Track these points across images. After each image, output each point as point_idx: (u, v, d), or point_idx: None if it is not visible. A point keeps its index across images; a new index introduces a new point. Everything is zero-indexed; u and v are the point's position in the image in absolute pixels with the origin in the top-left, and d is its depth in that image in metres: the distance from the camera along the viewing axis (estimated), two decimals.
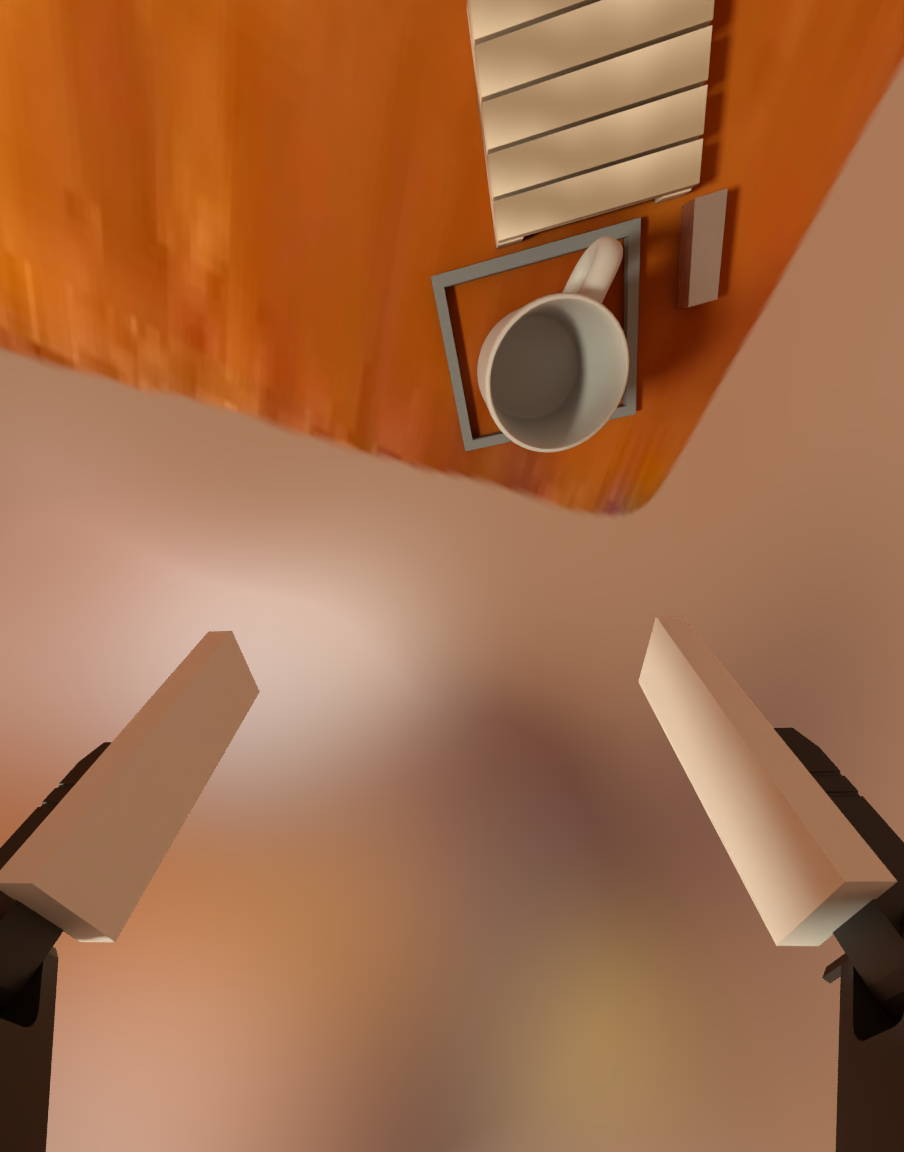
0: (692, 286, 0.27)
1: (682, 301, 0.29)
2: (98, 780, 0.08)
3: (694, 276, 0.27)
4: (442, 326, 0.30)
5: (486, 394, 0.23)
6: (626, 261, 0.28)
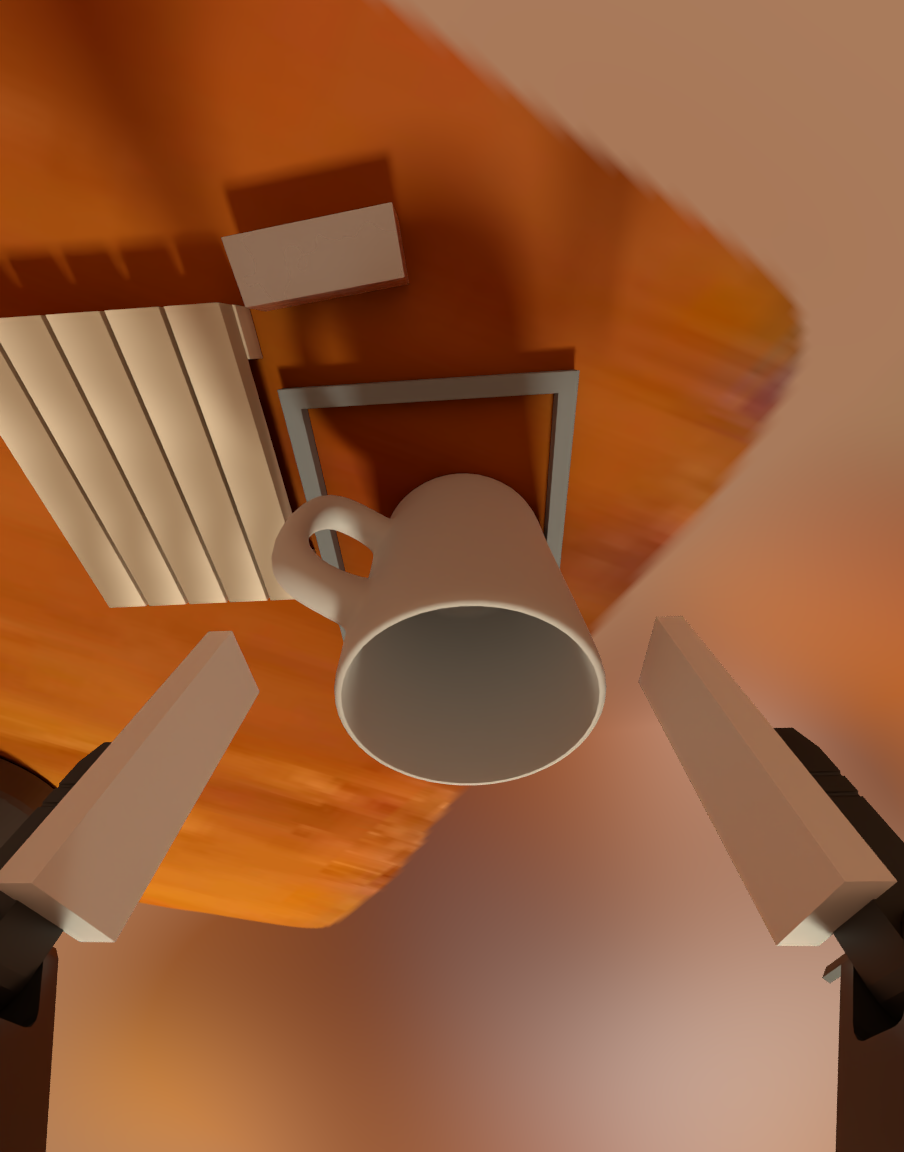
0: (370, 277, 0.14)
1: (396, 283, 0.15)
2: (98, 780, 0.08)
3: (354, 275, 0.14)
4: None
5: None
6: None
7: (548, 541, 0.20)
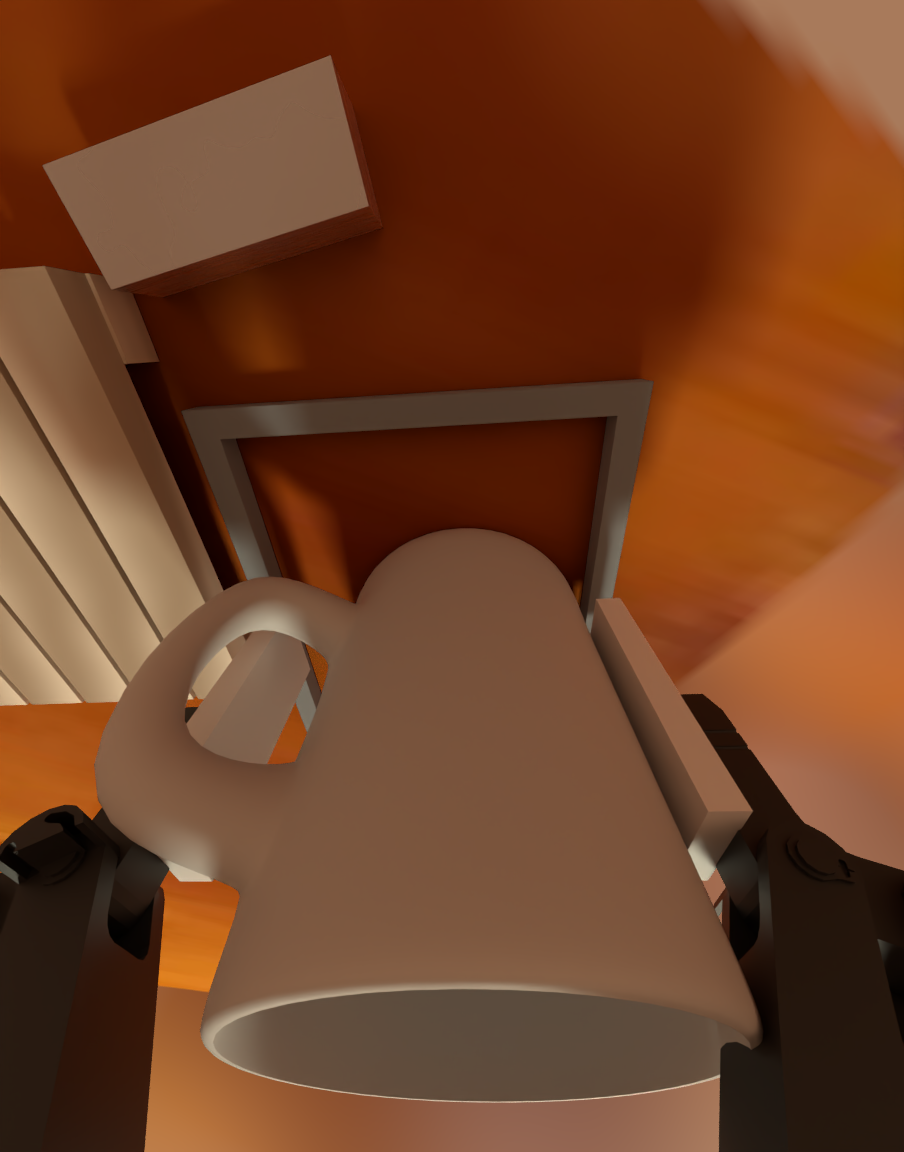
0: (308, 211, 0.08)
1: (358, 224, 0.09)
2: (196, 735, 0.09)
3: (281, 212, 0.08)
4: None
5: None
6: None
7: (588, 619, 0.14)
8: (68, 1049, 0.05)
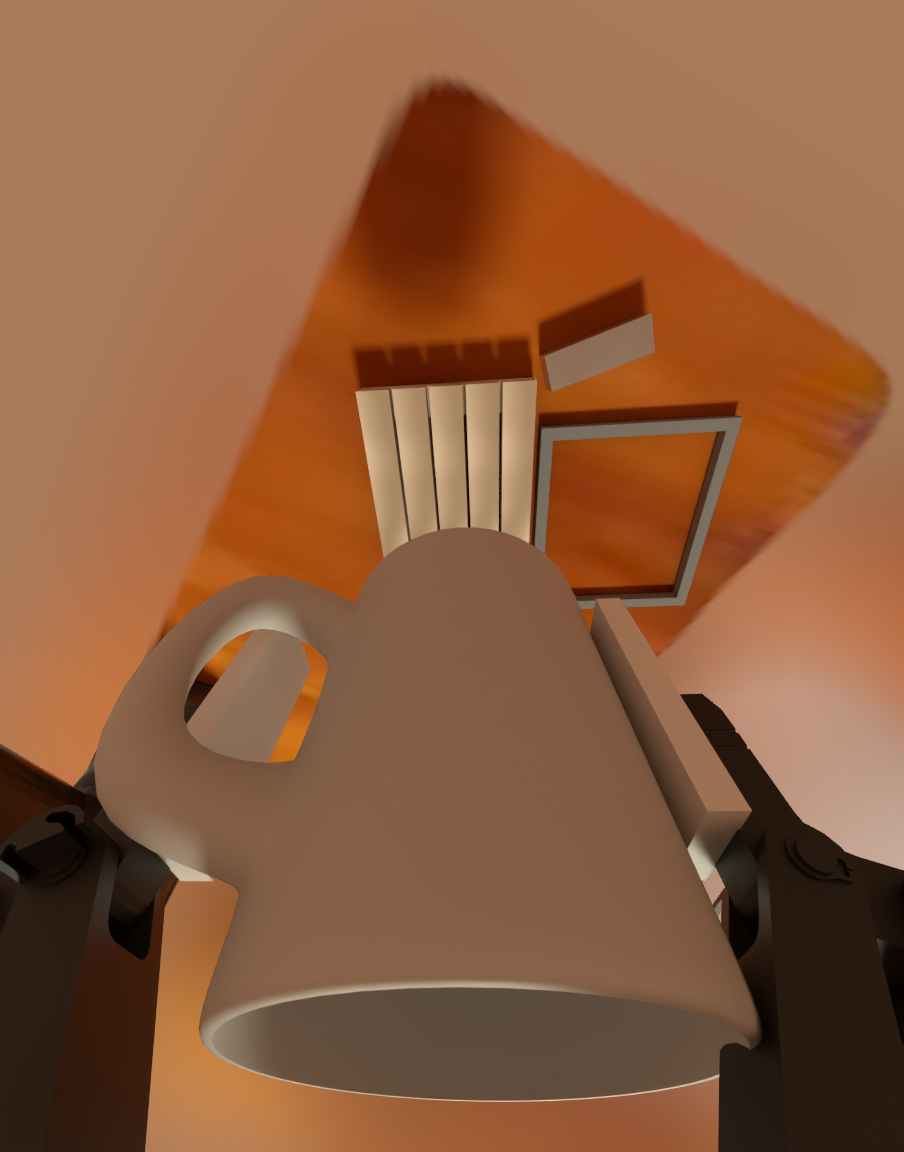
0: (633, 357, 0.22)
1: None
2: (196, 735, 0.09)
3: (622, 358, 0.22)
4: None
5: None
6: None
7: (698, 529, 0.29)
8: (69, 1049, 0.05)
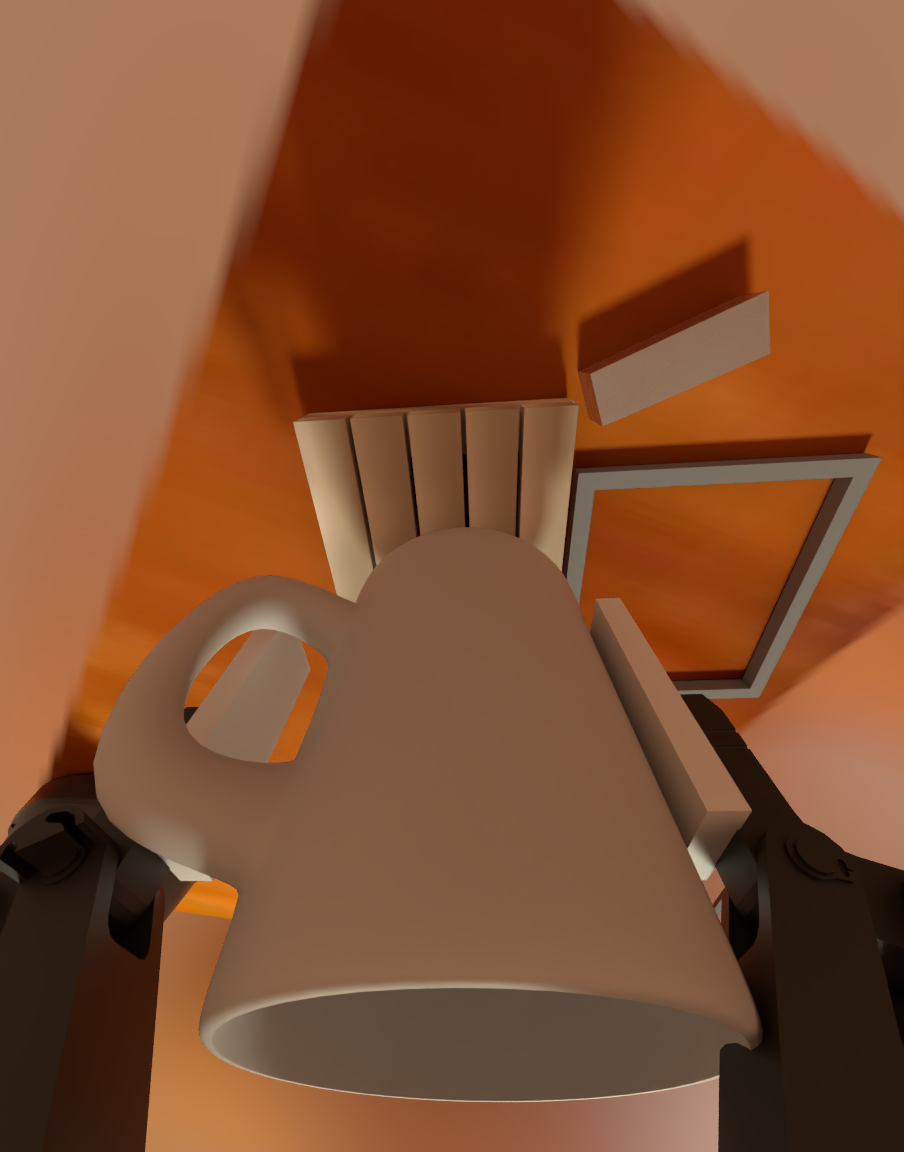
0: (734, 364, 0.14)
1: None
2: (196, 735, 0.09)
3: (716, 367, 0.14)
4: None
5: None
6: None
7: (791, 607, 0.20)
8: (68, 1049, 0.05)
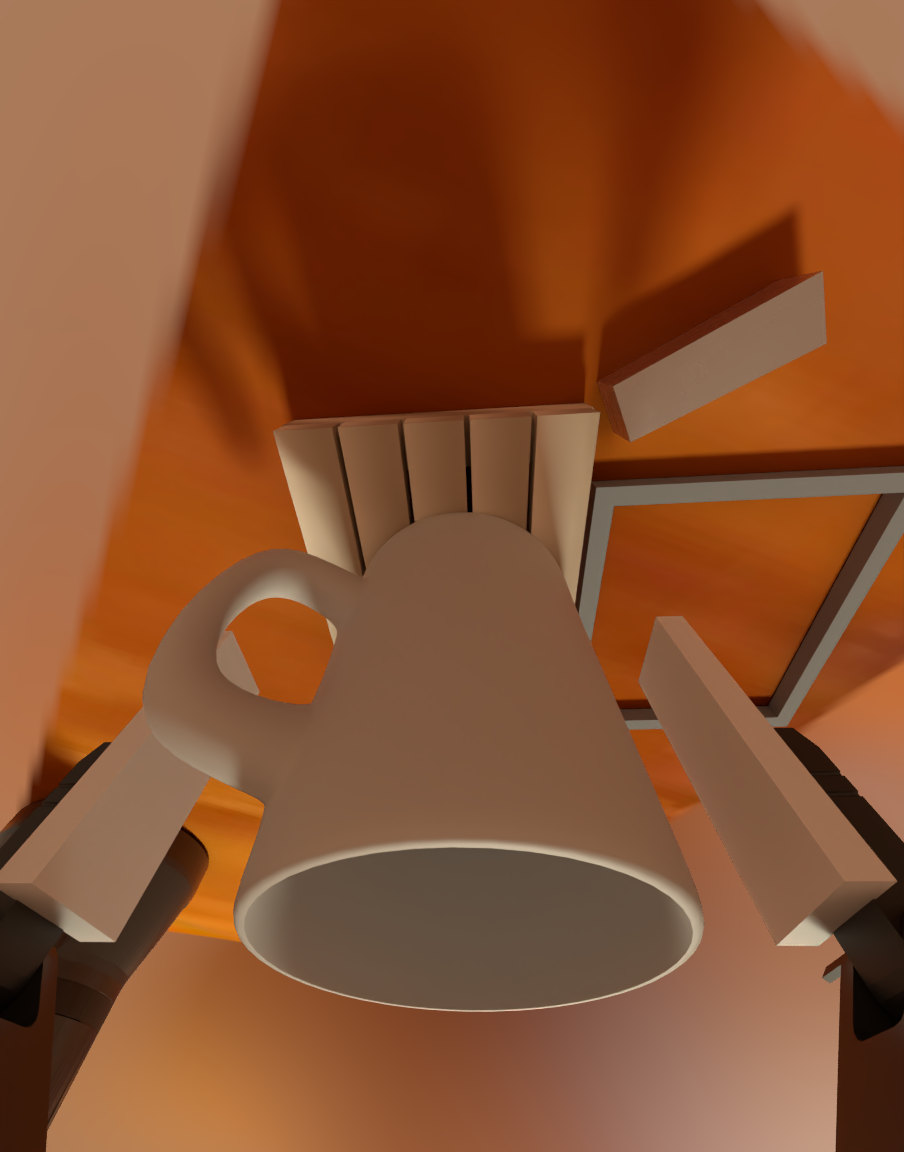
0: (783, 359, 0.12)
1: None
2: (98, 780, 0.08)
3: (761, 365, 0.12)
4: None
5: None
6: None
7: (827, 633, 0.19)
8: None
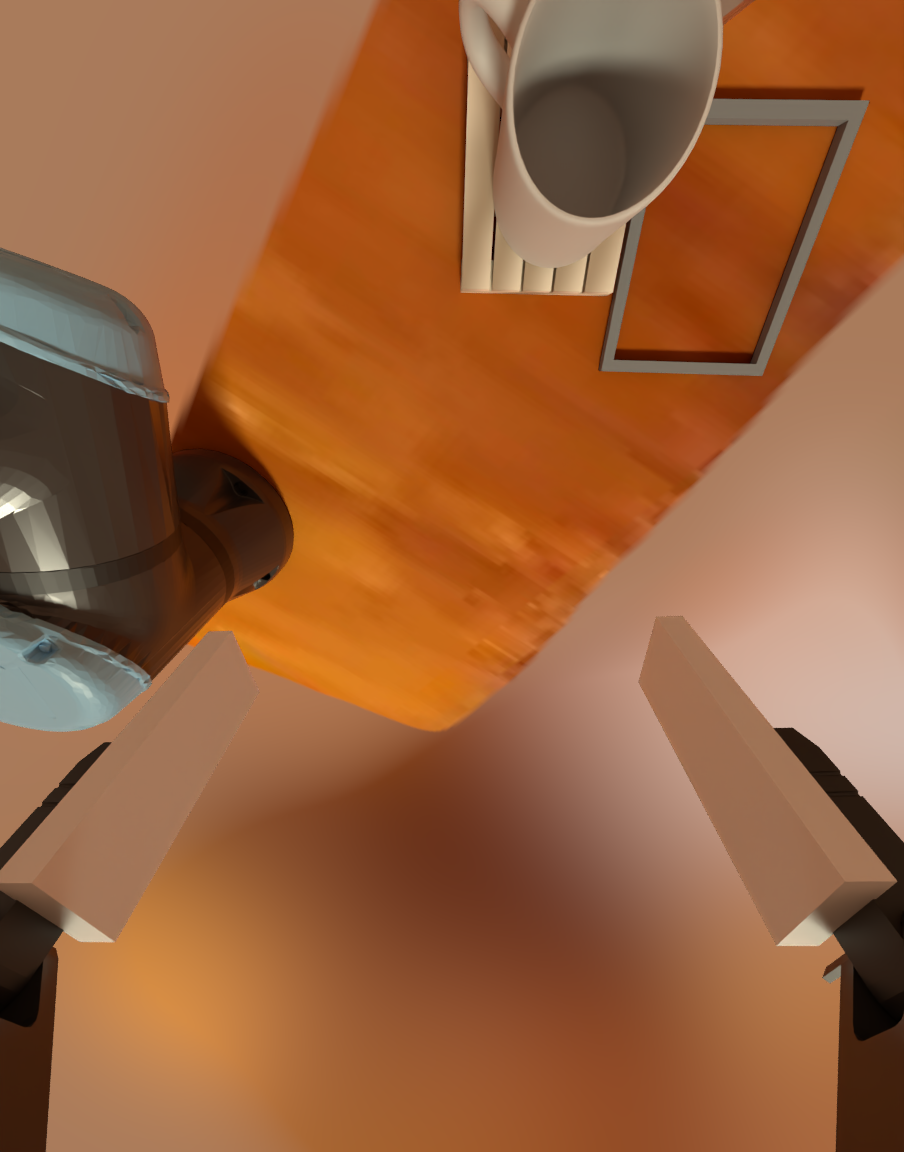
0: None
1: None
2: (98, 780, 0.08)
3: None
4: (640, 370, 0.31)
5: (584, 225, 0.18)
6: None
7: (794, 265, 0.27)
8: None
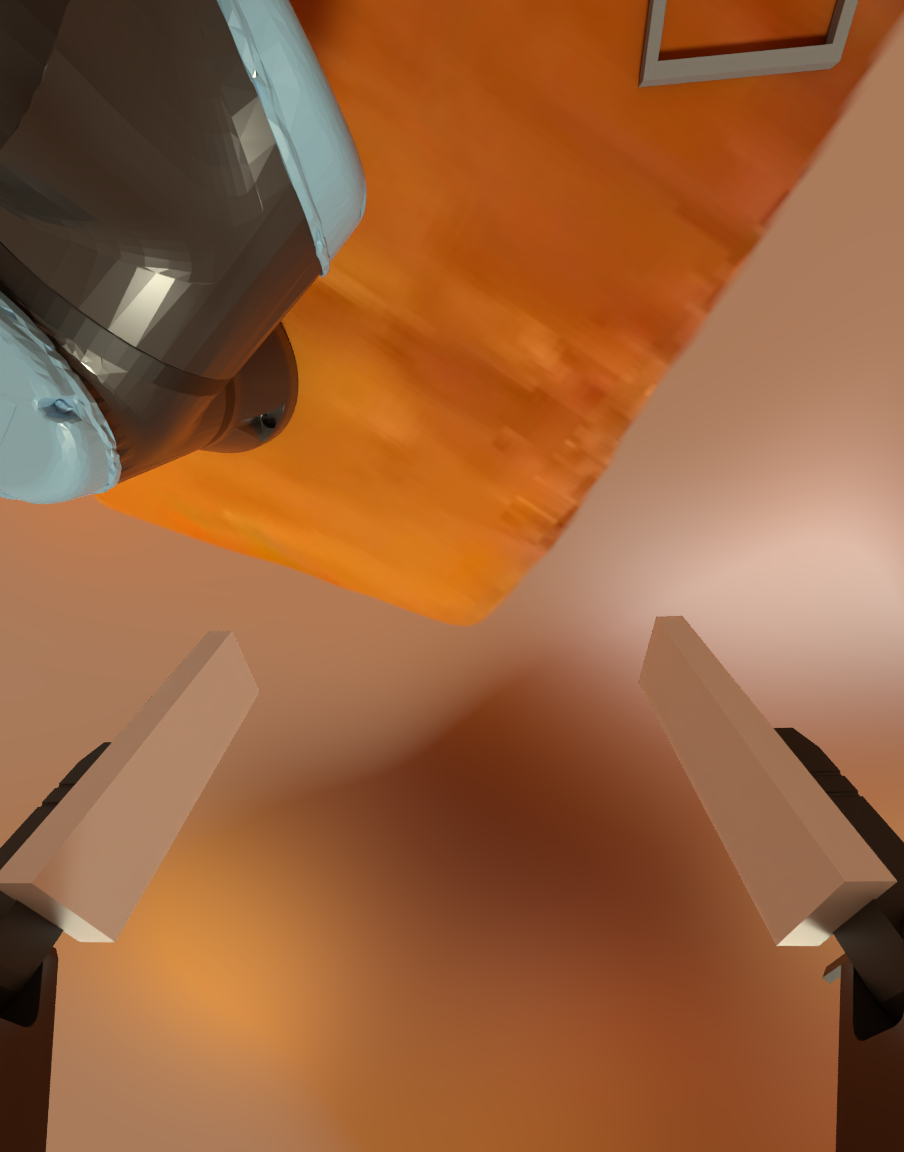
0: None
1: None
2: (98, 780, 0.08)
3: None
4: (691, 73, 0.26)
5: None
6: None
7: None
8: None
